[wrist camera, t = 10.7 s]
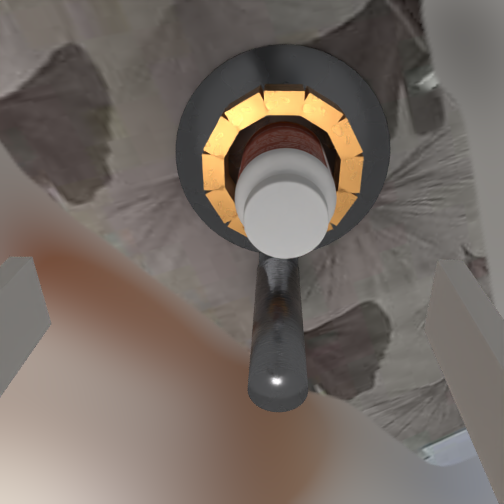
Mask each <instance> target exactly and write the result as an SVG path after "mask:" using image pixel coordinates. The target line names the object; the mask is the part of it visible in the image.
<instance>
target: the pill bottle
mask: <svg viewBox="0 0 504 504" xmlns="http://www.w3.org/2000/svg"><path fill="white" fill-rule="evenodd" d="M336 199H337V195H336V188H335V183H334V180H333V176H332V173H331V170H330V167H329V164H328V161H327V157H326V154H325V151H324V148H323V146H322V144H321V142H320V140H319V139H318V137H317V136H316V135H315V134H314V133H313V132H312V131H311V130H310V129H308V128H307V127H305V126H303V125H301V124H299V123H296V122H292V121H276V122H272V123H269V124H267V125H265V126H263V127H261V128H260V129H258V130H257V131H256V132H255V133H254V134H253V135H252V136H251V138H250V139H249V141H248V142H247V144H246V147H245V149H244V152H243V156H242V161H241V166H240V170H239V175H238V180H237V184H236V189H235V208H236V212H237V214H238V217H239V219H240V221H241V223H242V224H243V226H244V229H245V233H246V235H247V237H248V239H249V240H250V242H251V243H252V244H253V245H254V246H255V247H256V248H257V249H258V250H259V251H261V252H263V253H264V254H266V255H269V256H272V257H276V258H283V259H288V258H295V257H299V256H302V255H305V254H307V253H309V252H310V251H312V250H313V249H314V248H315V247H317V246H318V245H319V243H320V242H321V241H322V239H323V238H324V236H325V234H326V232H327V229H328V224H329V222H330V220H331V218H332V216H333V214H334V211H335V207H336Z"/></svg>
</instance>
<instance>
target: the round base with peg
mask: <svg viewBox="0 0 504 504" xmlns="http://www.w3.org/2000/svg"><path fill="white" fill-rule="evenodd" d="M276 121H292V122H296V123H299V124H301V125H303V126H305V127H307V128H308V129H310V130H311V131H312V132H313V133H314V134H315V135H316V136H317V137H318V139H319V140H320V142H321V144H322V146H323V148H324V151H325V154H326V157H327V161H328V164H329V167H330V170H331V173H332V176H333V180H334V183H335V188H336V195H337V199H336V207H335V211H334V214H333V216H332V218H331V220H330V222H329V224H328V229H327V232H326V234H325V236H324V238H323V239H322V241H321V242H320V243H319V245H318V246H317V247H315V248H314V249H313V250H315V249H318V248H320V247H323V246H325V245H328V244H330V243H331V242H333V241H335V240H337V239H339V238H340V237H342V236H343V235H345V234H346V233H347V232H349V231H350V230H351V229H352V228H353V227H355V226H356V225H357V224H358V223H359V222H360V221H361V220H362V219H363V218H364V216H365V215H366V214H367V213H368V212H369V210H370V209H371V207H372V206H373V204H374V203H375V201H376V199H377V198H378V196H379V194H380V192H381V190H382V187H383V184H384V181H385V179H386V175H387V171H388V166H389V158H390V137H389V131H388V126H387V121H386V118H385V115H384V112H383V110H382V107H381V105H380V103H379V101H378V99H377V97H376V95H375V94H374V92H373V91H372V90H371V88H370V87H369V86H368V84H367V83H366V82H365V81H364V80H363V79H362V78H361V76H360V75H359V74H358V73H357V72H356V71H354V70H353V69H352V68H351V67H349V66H348V65H347V64H345V63H344V62H343V61H341V60H339V59H337V58H336V57H334V56H332V55H330V54H328V53H325V52H323V51H320V50H317V49H315V48H310V47H306V46H301V45H289V44H280V45H268V46H263V47H259V48H254V49H252V50H249V51H246V52H243V53H241V54H239V55H237V56H235V57H233V58H231V59H229V60H227V61H226V62H224V63H223V64H222V65H220V66H219V67H218V68H216V69H215V70H214V71H213V72H212V73H211V74H210V75H209V76H208V77H207V78H206V79H205V80H204V81H203V82H202V83H201V84H200V85H199V87H198V88H197V89H196V91H195V92H194V93H193V95H192V97H191V98H190V100H189V102H188V104H187V105H186V108H185V110H184V112H183V115H182V117H181V120H180V124H179V128H178V132H177V140H176V163H177V170H178V175H179V179H180V182H181V186H182V188H183V190H184V193H185V195H186V197H187V199H188V201H189V202H190V204H191V206H192V208H193V209H194V210H195V212H196V213H197V214H198V216H199V217H200V218H201V219H202V220H203V221H204V222H205V223H206V224H207V225H208V226H209V227H210V228H211V229H212V230H213V231H215V232H216V233H217V234H218V235H220V236H221V237H223V238H224V239H226V240H228V241H229V242H231V243H233V244H236V245H238V246H240V247H242V248H245V249H248V250H251V251H255V252H259V265H258V268H257V279H256V292H255V304H254V317H253V329H252V342H251V354H250V367H249V379H248V394H249V397H250V399H251V400H252V401H253V403H254V404H256V405H257V406H258V407H260V408H262V409H265V410H267V411H272V412H286V411H290V410H292V409H295V408H297V407H298V406H299V405H301V404H302V403H303V402H304V400H305V399H306V397H307V394H308V384H307V371H306V358H305V345H304V332H303V319H302V305H301V292H300V279H299V268H298V265H297V262H298V257H295V258H288V259H283V258H276V257H272V256H269V255H266V254H264V253H263V252H261V251H259V250H258V249H257V248H256V247H255V246H254V245H253V244H252V243H251V242H250V240H249V239H248V237H247V235H246V233H245V229H244V226H243V224H242V223H241V221H240V219H239V217H238V214H237V212H236V208H235V189H236V184H237V180H238V175H239V170H240V166H241V161H242V156H243V152H244V149H245V147H246V144H247V142H248V141H249V139H250V138H251V136H252V135H253V134H254V133H255V132H256V131H257V130H258V129H260V128H261V127H263V126H265V125H267V124H269V123H272V122H276Z"/></svg>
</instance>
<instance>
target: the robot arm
mask: <svg viewBox="0 0 504 504" xmlns="http://www.w3.org/2000/svg"><path fill="white" fill-rule="evenodd" d="M50 325H51V321H50V317H49V314H48V311H47V307H46V303H45V300H44V296H43V293H42V289H41V286H40V283H39V279H38V275H37V272H36V269H35V265H34V262H33V258H32V257H9V258H8V259H7V260H6V261H5V262H4V263H3V264H2V265H1V266H0V397H1V395H2V394H3V392H4V391H5V390H6V388H7V387H8V385H9V384H10V382H11V381H12V379H13V378H14V377H15V375H16V374H17V372H18V371H19V370H20V368H21V367H22V365H23V364H24V362H25V361H26V360H27V358H28V357H29V355H30V354H31V352H32V351H33V349H34V348H35V347H36V345H37V344H38V342H39V341H40V339H41V338H42V337H43V335H44V334H45V332H46V331H47V329H48V328H49V327H50ZM424 331H425V333H426V336H427V338H428V340H429V343H430V345H431V347H432V350H433V352H434V354H435V357H436V359H437V361H438V364H439V366H440V368H441V370H442V373H443V375H444V377H445V380H446V382H447V384H448V387H449V389H450V391H451V394H452V396H453V398H454V401H455V403H456V405H457V408H458V410H459V412H460V415H461V417H462V419H463V421H464V424H465V426H466V428H467V431H468V433H469V435H470V438H471V440H472V442H473V445H474V447H475V449H476V452H477V454H478V456H479V459H480V461H481V463H482V466H483V468H484V470H485V472H486V475H487V477H488V479H489V481H490V484H491V486H492V489H493V491H494V493H495V496H496V498H497V500H498V503H499V504H504V320H503V318H502V317H501V315H500V314H499V312H498V311H497V309H496V308H495V306H494V305H493V303H492V302H491V301H490V299H489V298H488V296H487V295H486V293H485V292H484V290H483V289H482V287H481V286H480V285H479V283H478V282H477V280H476V279H475V277H474V276H473V274H472V273H471V272H470V270H469V269H468V267H467V266H466V264H465V263H464V261H463V260H437V265H436V270H435V275H434V280H433V286H432V291H431V296H430V301H429V306H428V311H427V316H426V321H425V326H424Z"/></svg>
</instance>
